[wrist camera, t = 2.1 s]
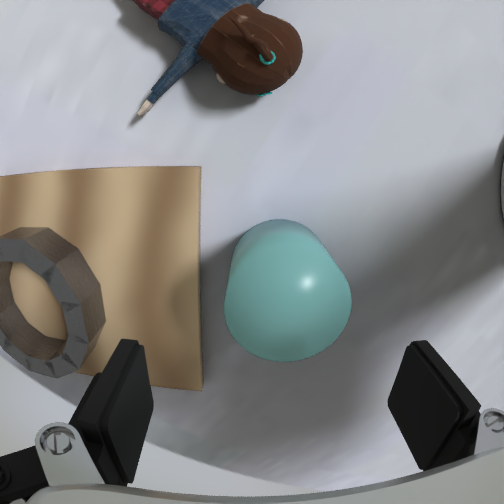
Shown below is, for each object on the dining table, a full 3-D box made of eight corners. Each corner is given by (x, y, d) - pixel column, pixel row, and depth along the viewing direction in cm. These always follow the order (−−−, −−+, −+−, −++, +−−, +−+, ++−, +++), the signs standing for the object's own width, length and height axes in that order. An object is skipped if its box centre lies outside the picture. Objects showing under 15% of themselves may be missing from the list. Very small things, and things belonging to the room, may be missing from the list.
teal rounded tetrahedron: (330, 222, 19) (360, 251, 14) (319, 308, 21) (339, 361, 16) (232, 216, 19) (225, 245, 14) (230, 305, 21) (223, 359, 15)
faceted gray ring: (94, 228, 18) (71, 241, 16) (114, 363, 22) (101, 388, 19) (-11, 226, 18) (-36, 237, 15) (15, 342, 21) (-2, 360, 19)
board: (201, 166, 18) (198, 167, 17) (203, 382, 23) (201, 391, 22) (-12, 177, 18) (-20, 179, 17) (21, 351, 23) (15, 356, 22)
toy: (66, 48, 17) (208, 170, 19) (28, 31, 12) (188, 171, 14) (196, -75, 13) (358, 23, 15) (183, -110, 9) (380, -10, 11)
